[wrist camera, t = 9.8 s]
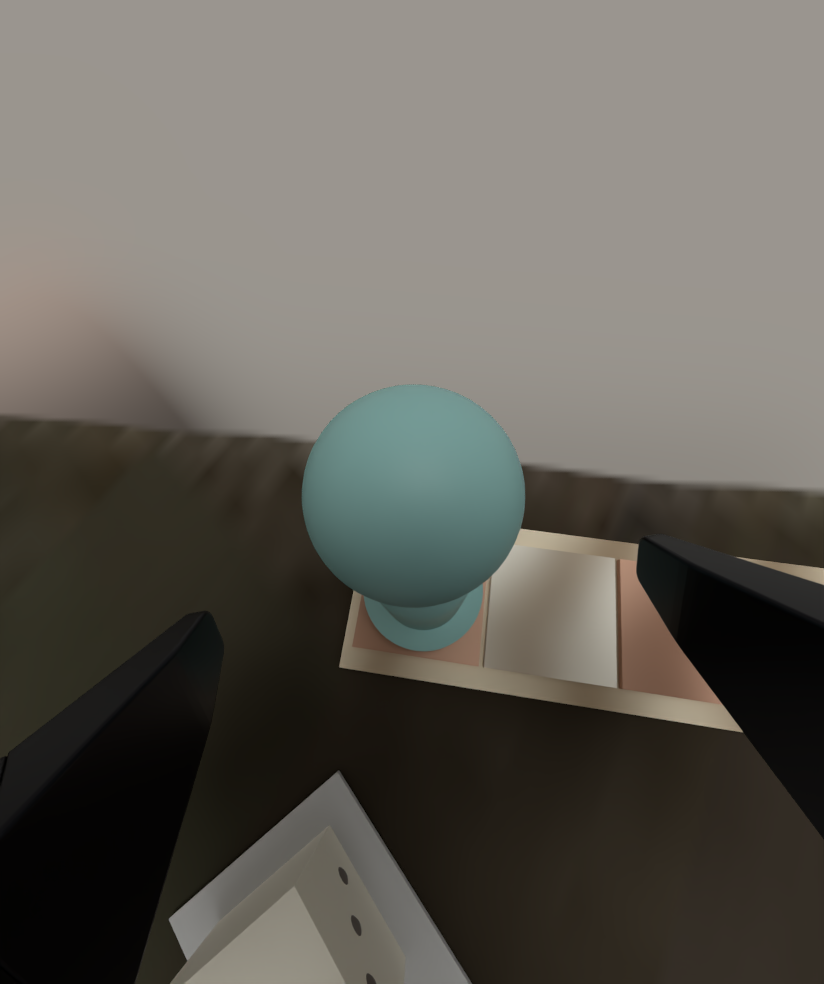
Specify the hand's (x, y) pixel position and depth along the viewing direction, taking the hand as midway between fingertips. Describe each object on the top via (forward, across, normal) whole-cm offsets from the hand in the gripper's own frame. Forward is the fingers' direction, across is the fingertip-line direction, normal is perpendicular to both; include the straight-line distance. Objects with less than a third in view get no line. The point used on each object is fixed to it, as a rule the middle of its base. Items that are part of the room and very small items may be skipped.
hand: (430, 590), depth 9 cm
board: (+6, -7, +8) cm, 12 cm away
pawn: (+7, 0, +5) cm, 8 cm away
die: (0, +6, +13) cm, 14 cm away
